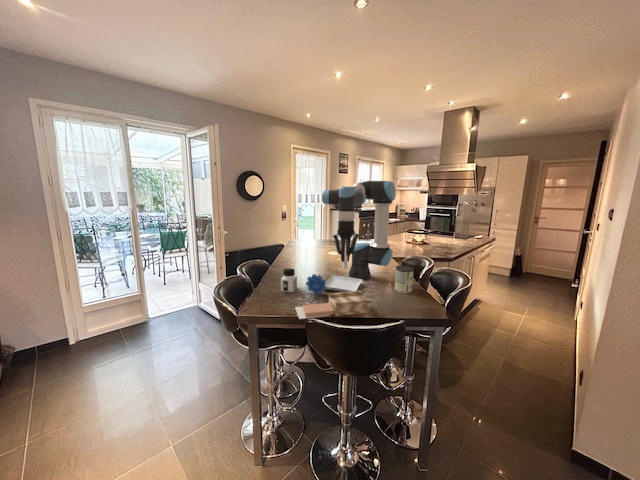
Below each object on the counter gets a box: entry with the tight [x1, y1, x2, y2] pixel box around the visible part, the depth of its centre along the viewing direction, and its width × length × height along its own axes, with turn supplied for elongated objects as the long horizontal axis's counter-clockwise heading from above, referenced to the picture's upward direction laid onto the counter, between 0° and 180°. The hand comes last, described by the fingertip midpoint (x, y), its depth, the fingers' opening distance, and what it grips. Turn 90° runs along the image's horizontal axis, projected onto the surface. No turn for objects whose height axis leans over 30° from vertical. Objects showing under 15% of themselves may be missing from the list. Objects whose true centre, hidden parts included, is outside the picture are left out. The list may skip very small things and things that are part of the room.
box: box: [328, 290, 372, 317], centre depth 132 cm, size 18×12×7 cm, turn 105°
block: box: [302, 302, 335, 317], centre depth 129 cm, size 14×9×2 cm, turn 103°
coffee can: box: [394, 265, 415, 294], centre depth 157 cm, size 10×10×14 cm
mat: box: [294, 306, 331, 320], centre depth 129 cm, size 15×12×1 cm
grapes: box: [305, 273, 327, 295], centre depth 149 cm, size 12×7×12 cm, turn 99°
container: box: [280, 267, 298, 293], centre depth 156 cm, size 8×8×13 cm
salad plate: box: [324, 274, 364, 293], centre depth 162 cm, size 21×21×3 cm
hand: (344, 267), depth 128 cm, fingers closed
